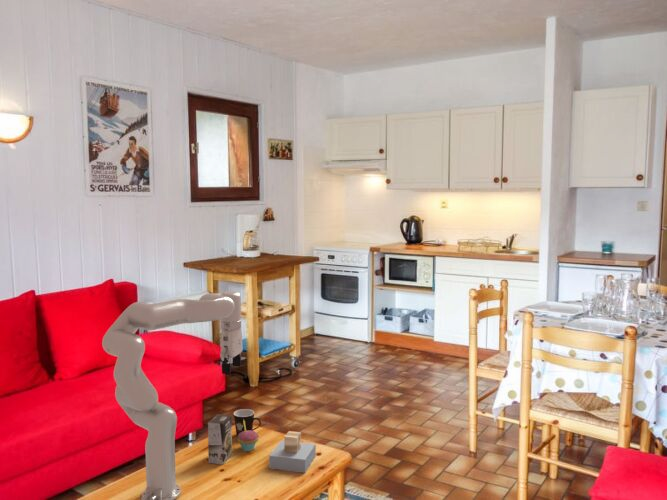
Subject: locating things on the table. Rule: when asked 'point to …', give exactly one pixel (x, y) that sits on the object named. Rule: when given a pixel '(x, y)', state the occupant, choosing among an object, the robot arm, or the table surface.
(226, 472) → the table surface
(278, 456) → the grey block
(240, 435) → the cupcake
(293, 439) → the birch block
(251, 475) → the table surface
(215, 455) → the coffee box
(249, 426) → the coffee mug
